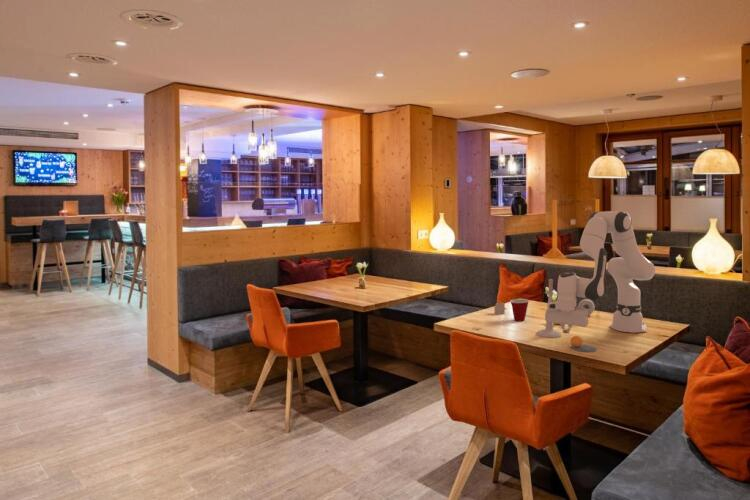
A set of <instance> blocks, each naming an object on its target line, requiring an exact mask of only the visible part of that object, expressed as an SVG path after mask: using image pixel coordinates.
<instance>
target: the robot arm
mask: <svg viewBox="0 0 750 500" xmlns="http://www.w3.org/2000/svg"><path fill="white" fill-rule="evenodd" d="M632 223H633V220H632V217H631V215H630V214H629V213H628V212H625V211H615V210H609V211H608V210H607V211H594V212H592V213H590V215H589V216H588V218H587V223H586V225H585V227H584V230H583V232H582V235H581V237H580V241H579V247H580V249H581V251H582V252H583V253H584V254H585V255H588V257H590V258H592V260H594V269H593V275H592V277H591V278H586V277H582V276H581V277H580V276H578V275H576V272H574V271H564V272H561V273H560V274H559V275H558V277H557V279H558V280H557V289H556V290H557V294H558V296H557V299H556V300H555V301H552V302H551V303H549V304H548V303H547V304H546V307H547V308H548V309H546V310H545V313H544V314H545V315H544V320H545V323H546V322H551V323H553V324H559V325H560V328H561V329H562V333H563V334H568V335H569V334H570V330H571V329H572V327H573V326H575V327H584V328H585V327H587V326H588V325H589V316H590V315H589V311H588V310H587V309H588V308H586V307H585V306H584V307H578V306H577V298H583V299H589V300H591V301H597V300H599V299H600V298H602V297H603V296H604V294H605V280H606V279H605V278H606V271H608V273H609V275H611V276H612V277H613V279H614V281H615V283H616V287H617V302H616V310H615V311H614V312H613V315H612V323H611V324H609V326H608V327H609V328H610V329H614V330H615V331H619V332H624V333H647V332H648V331H647V324H646V323H644V321H643V318H644V317H643V314H642V312H641V311H642V305H641V304H642V303H641V293H642V292H641V289H640V288H639V287H638V286H637V285H636V284H635V283H634V281H635V280H636V281H650V280H651V279H653V277H654V275H655V273H656V267H655V265H654V263H653V262H651V261H650V260H649V259H647V258H646V256H645V255H643V253H642V252H641V250H640V248H639V247H638V243H637V239H636V236H635V232H634V228H633V226H632V225H633V224H632ZM607 234H610V235H611V239H612V243H613V249H614V252H615V253H616V254H617V255H618V256H619V257H612V258H610V260H608V252H607V250H606V249H605V241H606V239H607V238H606V237H607ZM633 280H634V281H633ZM565 325H567V327H568V328H565Z"/></svg>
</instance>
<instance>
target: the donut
mask: <svg viewBox="0 0 750 500" xmlns="http://www.w3.org/2000/svg"><path fill="white" fill-rule="evenodd" d="M585 306H588V308H586V309H587V310H588V311H589V315H588V316H590V315H592V314H593V313H594V311H595V310H596V309H595V308H596V307H595V304H594V302H593V300H590V299H587V298H583V299H582V300H580V301H579V302H578V304H577V307H585Z"/></svg>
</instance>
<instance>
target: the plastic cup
mask: <svg viewBox="0 0 750 500" xmlns="http://www.w3.org/2000/svg"><path fill="white" fill-rule="evenodd" d="M509 302H510V304H511V307H512V308H511V309H512V314H513V319H514V321H516V322H524V321H525V320H526V315H527V310H528V305H529V302H530V300H529V299H523V298H517V299H516V298H515V299H510V301H509Z"/></svg>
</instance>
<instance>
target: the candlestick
mask: <svg viewBox="0 0 750 500" xmlns="http://www.w3.org/2000/svg"><path fill="white" fill-rule="evenodd" d="M553 283H554V279H552V278H549V279H548V291H546V293H547V296H548V299H547V305H548V304H549V303H551V302H553V296H554V293H555V292H554V291H553V290H554V288H553V286H554V285H553ZM547 309H548V307H547ZM547 309H546V310H547ZM553 327H554V323H551V322H546V321H545V328H543V329H539V330H538V331H536V333H535V334H536V335H537V336H538V337H541V338H547V339H558V338H559V339H560V338H562V337H563V334H562V333H561V332H560V331H559V330H555V329H554V328H553Z"/></svg>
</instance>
